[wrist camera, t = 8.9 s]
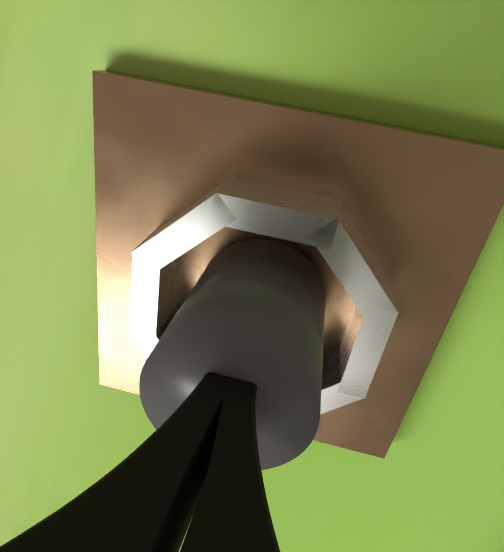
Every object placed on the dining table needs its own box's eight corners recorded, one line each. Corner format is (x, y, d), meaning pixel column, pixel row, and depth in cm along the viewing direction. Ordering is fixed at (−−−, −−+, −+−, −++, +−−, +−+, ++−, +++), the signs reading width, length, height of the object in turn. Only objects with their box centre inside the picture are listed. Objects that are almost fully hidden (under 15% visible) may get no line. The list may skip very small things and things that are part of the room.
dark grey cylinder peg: (338, 253, 15) (339, 352, 10) (311, 360, 17) (301, 487, 12) (205, 228, 16) (138, 309, 10) (197, 335, 18) (139, 447, 13)
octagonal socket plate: (516, 149, 13) (560, 170, 11) (382, 444, 20) (389, 502, 17) (104, 70, 14) (52, 71, 12) (107, 373, 21) (74, 417, 18)
